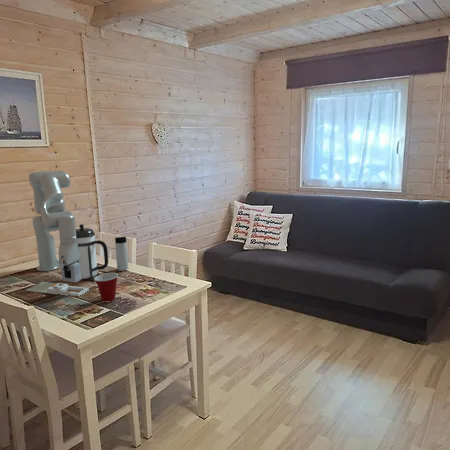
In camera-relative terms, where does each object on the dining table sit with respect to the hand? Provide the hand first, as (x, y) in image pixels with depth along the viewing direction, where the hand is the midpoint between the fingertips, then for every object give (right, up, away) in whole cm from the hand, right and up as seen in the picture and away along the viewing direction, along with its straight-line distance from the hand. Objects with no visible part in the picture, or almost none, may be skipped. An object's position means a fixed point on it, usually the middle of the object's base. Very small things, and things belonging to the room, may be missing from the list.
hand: (71, 275), depth 195 cm
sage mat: (-17, -7, +9) cm, 20 cm away
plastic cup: (+20, -11, -9) cm, 25 cm away
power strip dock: (-2, -8, +2) cm, 9 cm away
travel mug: (+16, -1, +36) cm, 39 cm away
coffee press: (+1, -4, +23) cm, 23 cm away
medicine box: (0, -3, +1) cm, 3 cm away
